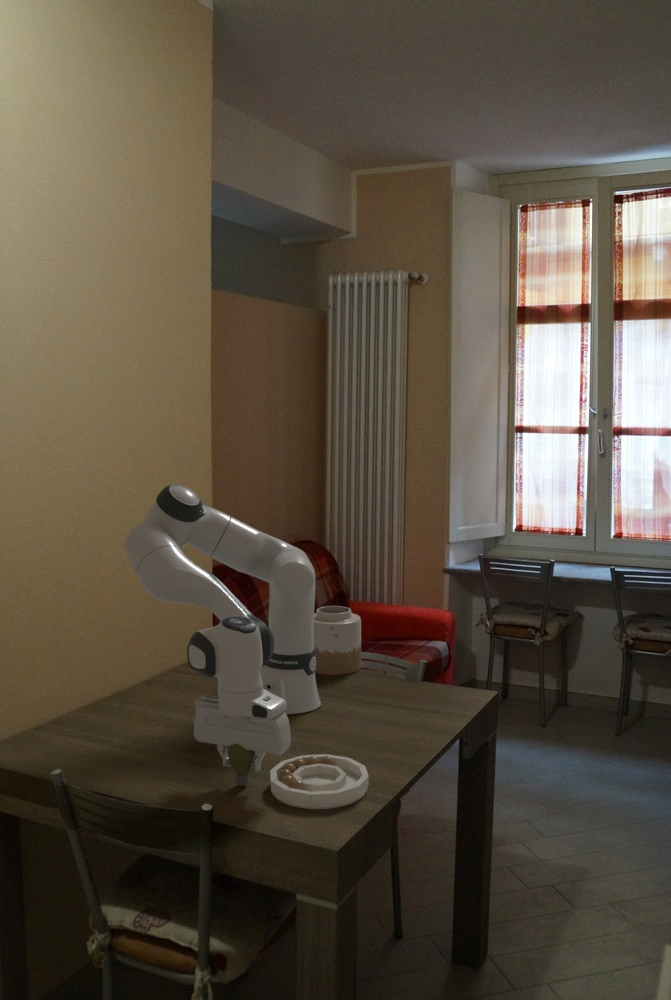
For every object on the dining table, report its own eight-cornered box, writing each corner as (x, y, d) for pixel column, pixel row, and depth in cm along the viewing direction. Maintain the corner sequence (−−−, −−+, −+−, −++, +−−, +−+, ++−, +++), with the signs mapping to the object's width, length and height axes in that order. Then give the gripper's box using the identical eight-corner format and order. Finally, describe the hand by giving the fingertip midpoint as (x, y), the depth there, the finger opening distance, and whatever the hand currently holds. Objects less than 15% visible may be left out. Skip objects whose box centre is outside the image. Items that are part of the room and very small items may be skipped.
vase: (302, 674, 259) (301, 615, 257) (312, 658, 274) (312, 602, 272) (356, 677, 256) (356, 617, 254) (364, 661, 271) (364, 604, 269)
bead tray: (253, 798, 180) (253, 780, 180) (296, 762, 197) (296, 745, 197) (344, 816, 173) (344, 796, 172) (381, 777, 190) (381, 759, 189)
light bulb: (228, 780, 189) (227, 732, 188) (256, 779, 189) (255, 731, 188) (227, 792, 183) (226, 742, 182) (256, 791, 184) (255, 741, 182)
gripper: (186, 698, 185) (188, 765, 187) (279, 712, 177) (280, 782, 179) (203, 689, 191) (205, 754, 193) (293, 702, 183) (294, 770, 185)
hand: (242, 768), depth 186 cm, fingers closed on light bulb, 5 cm apart
